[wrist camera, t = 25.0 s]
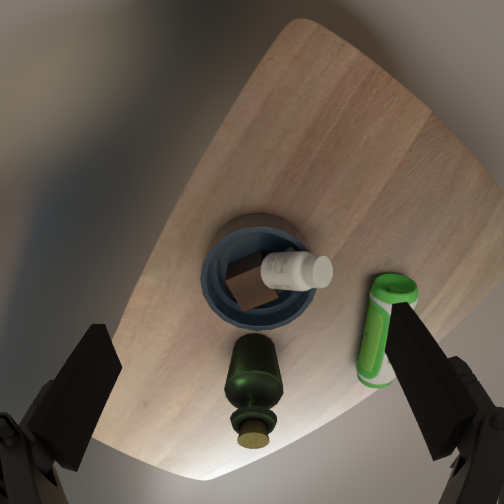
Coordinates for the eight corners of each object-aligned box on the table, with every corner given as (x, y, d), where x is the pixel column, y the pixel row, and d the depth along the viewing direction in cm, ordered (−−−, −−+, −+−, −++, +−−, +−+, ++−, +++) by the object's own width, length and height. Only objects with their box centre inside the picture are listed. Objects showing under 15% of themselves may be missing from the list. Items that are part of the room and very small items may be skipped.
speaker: (364, 272, 44) (381, 298, 37) (407, 269, 44) (429, 294, 37) (350, 363, 50) (360, 394, 44) (388, 358, 50) (401, 387, 43)
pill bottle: (289, 279, 40) (339, 281, 34) (265, 294, 38) (316, 300, 32) (279, 246, 39) (330, 244, 33) (254, 261, 37) (305, 260, 31)
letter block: (227, 263, 43) (224, 280, 38) (261, 249, 42) (262, 264, 37) (244, 293, 45) (242, 312, 40) (276, 279, 44) (279, 297, 39)
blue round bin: (200, 218, 41) (192, 232, 36) (308, 208, 40) (316, 221, 35) (215, 309, 46) (210, 333, 41) (310, 301, 46) (317, 325, 40)
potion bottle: (230, 326, 47) (219, 419, 31) (283, 330, 48) (293, 423, 31) (227, 365, 51) (218, 454, 34) (276, 368, 51) (282, 457, 34)
